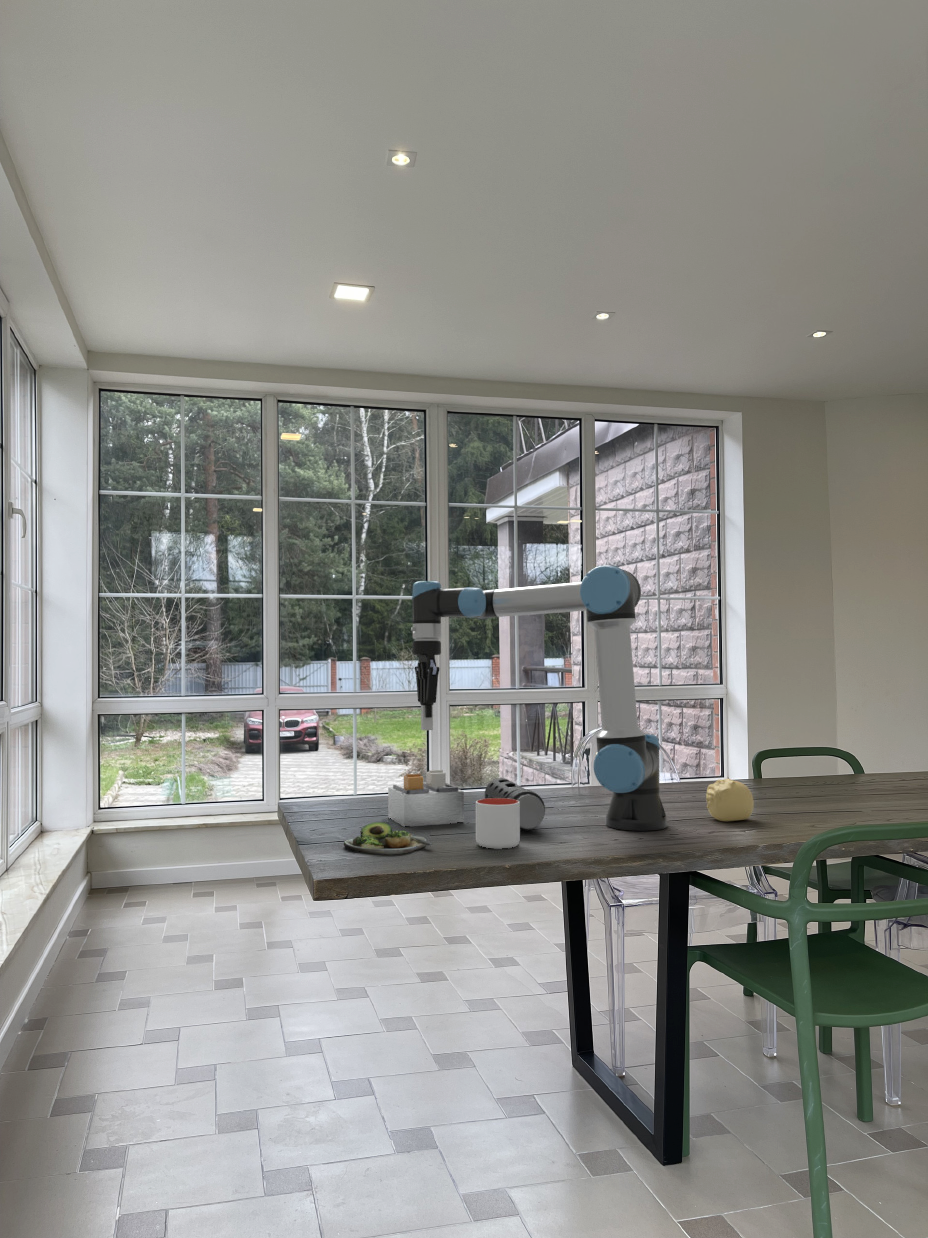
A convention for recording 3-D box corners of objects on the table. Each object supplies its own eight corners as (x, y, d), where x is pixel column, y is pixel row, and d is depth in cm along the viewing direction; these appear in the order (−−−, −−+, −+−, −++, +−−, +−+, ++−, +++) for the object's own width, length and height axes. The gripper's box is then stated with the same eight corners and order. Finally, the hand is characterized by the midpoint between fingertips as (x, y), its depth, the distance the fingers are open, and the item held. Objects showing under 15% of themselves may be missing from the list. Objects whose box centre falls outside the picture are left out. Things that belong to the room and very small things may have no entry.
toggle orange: (423, 790, 237) (423, 774, 237) (408, 791, 235) (408, 775, 235) (418, 788, 240) (418, 772, 241) (403, 789, 239) (403, 773, 239)
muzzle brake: (517, 815, 250) (517, 776, 250) (548, 835, 222) (548, 791, 223) (483, 816, 248) (483, 777, 248) (509, 836, 220) (509, 793, 221)
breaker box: (463, 822, 238) (463, 787, 238) (404, 827, 232) (404, 790, 232) (444, 813, 251) (444, 780, 251) (388, 817, 245) (388, 783, 245)
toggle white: (445, 786, 245) (445, 770, 245) (431, 787, 243) (431, 771, 243) (440, 784, 248) (440, 769, 248) (426, 785, 247) (426, 769, 247)
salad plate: (449, 845, 211) (449, 825, 212) (407, 861, 196) (407, 839, 196) (378, 837, 221) (379, 818, 221) (333, 851, 205) (333, 830, 205)
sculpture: (701, 816, 247) (701, 775, 247) (746, 816, 247) (746, 775, 247) (711, 824, 236) (711, 781, 236) (759, 824, 235) (758, 781, 235)
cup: (476, 841, 215) (476, 798, 215) (519, 841, 214) (519, 798, 215) (475, 850, 205) (475, 805, 205) (520, 850, 204) (520, 805, 205)
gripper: (405, 640, 248) (405, 728, 247) (421, 639, 236) (421, 732, 235) (431, 640, 250) (432, 727, 250) (448, 639, 238) (449, 731, 237)
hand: (426, 730), depth 242 cm, fingers closed
